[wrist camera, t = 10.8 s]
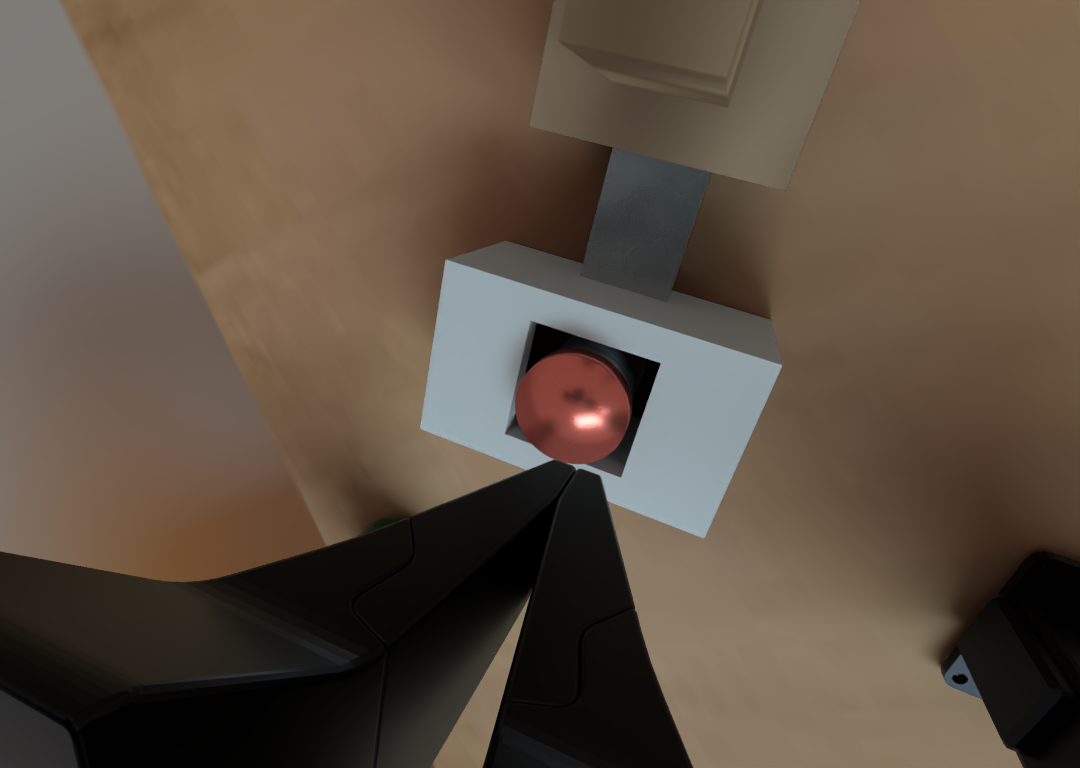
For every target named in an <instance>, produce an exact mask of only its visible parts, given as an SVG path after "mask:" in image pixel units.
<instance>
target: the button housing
mask: <svg viewBox="0 0 1080 768" xmlns="http://www.w3.org/2000/svg"><path fill="white" fill-rule="evenodd" d="M582 265H583V263H579V262H576V261H573V260H569V259H566V258H563V257H559V256H556V255H552V254H549V253H546V252H542V251H539V250H536V249H532V248H529V247H526V246H522V245H519V244H516V243H512V242H509V241H504V242H501V243H497V244H494V245H491V246H488V247H484V248H481V249H478V250H475V251H472V252H468V253H465V254H462V255H459V256H455V257H452V258H449V259H446V260H445V267H444V273H443V280H442V287H441V293H440V300H439V306H438V313H437V320H436V326H435V333H434V340H433V346H432V353H431V360H430V366H429V373H428V379H427V386H426V393H425V399H424V406H423V413H422V419H421V426H420V429H422V430H425V431H427V432H430V433H433V434H435V435H438V436H440V437H443V438H446V439H448V440H451V441H453V442H456V443H458V444H461V445H464V446H466V447H469V448H471V449H474V450H477V451H479V452H482V453H484V454H487V455H490V456H492V457H495V458H497V459H500V460H502V461H505V462H508V463H510V464H513V465H515V466H518V467H521V468H523V469H526V470H528V469H531V468H533V467H536V466H538V465H541V464H543V463H546V462H548V461H551V460H554V459H552V458H550V457H548V456H546V455H545V454H543V453H542V452H540V451H539V450H538V449H536V448H535V447H534V446H533V445H532V444H531V443H530V441H529V440H528V439H527V438H526V436H525V435H524V433H523V432H522V430H521V428H520V426H519V423H518V420H517V416H516V411H515V397H516V392H517V389H518V386H519V384H520V382H521V380H522V378H523V377H524V375H525V372H526V368H527V363H528V359H529V355H530V350H531V346H532V342H533V338H534V333H535V329H536V325H537V323H539V324H542V325H546V326H549V327H552V328H555V329H558V330H561V331H564V332H567V333H570V334H573V335H576V336H579V337H582V338H585V339H588V340H591V341H594V342H597V343H600V344H604V345H607V346H610V347H613V348H616V349H619V350H622V351H625V352H628V353H631V354H634V355H637V356H640V357H643V358H646V359H649V360H652V361H655V362H659V363H661V364H660V367H659V370H658V373H657V376H656V379H655V382H654V385H653V387H652V390H651V393H650V396H649V399H648V402H647V405H646V408H645V410H644V413H643V416H642V419H640V418H638V417H635V416H632V415H631V419H630V422H629V425H628V427H627V429H626V432H625V434H624V437H623V439H622V440H621V442H620V444H619V445H618V446H617V447H616V449H615V450H614V451H613V452H611V453H610V454H609V455H607V456H606V457H604V458H602V459H600V460H598V461H595V462H592V463H587V464H570V465H573V466H574V467H575V468H576V470H578V469H584V470H587V471H590V472H592V473H595V474H598V475H600V476H601V478H602V482H603V485H604V489H605V493H606V497H607V501H609V502H611V503H614V504H616V505H619V506H621V507H624V508H627V509H629V510H632V511H634V512H637V513H640V514H642V515H645V516H647V517H650V518H652V519H655V520H658V521H660V522H663V523H665V524H668V525H671V526H673V527H676V528H678V529H681V530H684V531H686V532H689V533H691V534H694V535H696V536H699V537H702V538H705V536H706V534H707V532H708V529H709V527H710V525H711V523H712V521H713V518H714V516H715V514H716V512H717V509H718V507H719V505H720V503H721V501H722V498H723V496H724V494H725V492H726V490H727V487H728V485H729V483H730V481H731V479H732V476H733V474H734V472H735V470H736V467H737V465H738V463H739V461H740V459H741V456H742V454H743V452H744V450H745V448H746V445H747V443H748V441H749V439H750V436H751V434H752V432H753V430H754V428H755V425H756V423H757V421H758V419H759V417H760V414H761V412H762V410H763V408H764V406H765V403H766V401H767V399H768V397H769V394H770V392H771V390H772V388H773V386H774V383H775V381H776V379H777V377H778V375H779V372H780V370H781V368H782V366H783V365H782V361H781V357H780V353H779V349H778V345H777V341H776V338H775V334H774V330H773V326H772V322H771V320H770V319H767V318H763V317H760V316H757V315H753V314H750V313H747V312H743V311H740V310H736V309H733V308H730V307H726V306H723V305H720V304H716V303H713V302H710V301H706V300H703V299H700V298H696V297H693V296H690V295H686V294H683V293H680V292H676V291H673V290H672V292H671V294H670V296H669V298H668V300H667V302H664V301H661V300H657V299H654V298H651V297H648V296H644V295H641V294H638V293H634V292H631V291H628V290H625V289H621V288H618V287H615V286H611V285H608V284H605V283H602V282H598V281H595V280H592V279H588V278H585V277H582V276H580V273H581V269H582ZM567 464H569V463H567Z"/></svg>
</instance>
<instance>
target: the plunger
mask: <svg viewBox="0 0 1080 768" xmlns="http://www.w3.org/2000/svg"><path fill="white" fill-rule="evenodd" d="M645 364H646V360H645V358H643V357H640V356H637V355H634V354H631V353H628V352H625V351H622V350H619V349H616V348H613V347H610V346H607V345H604V344H600V343H597V342H594V341H591V340H588V339H585V338H582V337H579V336H576V335H572V336H571V337H570V339H569V340H568V341H567V342H566V343H565V344H564V345H563V346H562V347H561V348H560V349H559V350H558V351H554V352H552V353H550V354H548V355H546V356H544V357H543V358H542V359H540V360H539V361H538V362H537V363H536V364H535V365H534V366H533V367H532V368H531V369H530V370H529V371H528V372H527V373H526V374H525V375H524V377H523V378H522V380H521V382H520V384H519V386H518V389H517V392H516V397H515V411H516V416H517V420H518V423H519V426H520V428H521V430H522V432H523V433H524V435H525V436H526V438H527V439H528V440H529V441H530V443H531V444H532V445H533V446H534V447H535V448H536V449H538V450H539V451H540V452H542V453H543V454H545V455H546V456H548V457H550V458H552V459H554V460H559V461H561V462H564V463H569V464H587V463H592V462H595V461H598V460H600V459H602V458H604V457H606V456H607V455H609V454H610V453H611V452H613V451H614V450H615V449H616V447H617V446H618V445H619V444H620V442H621V440H622V439H623V437H624V434H625V432H626V429H627V427H628V425H629V422H630V419H631V415H632V399H633V396H634V394H635V392H636V389H637V387H638V385H639V383H640V380H641V378H642V376H643V373H644V370H645Z"/></svg>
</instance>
